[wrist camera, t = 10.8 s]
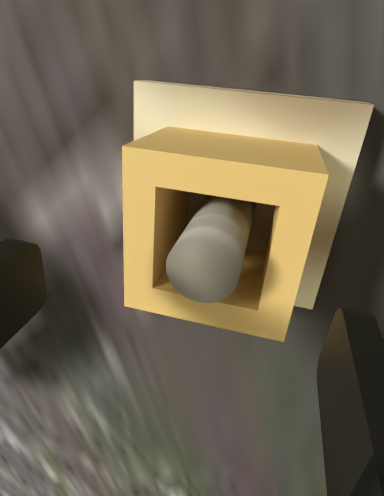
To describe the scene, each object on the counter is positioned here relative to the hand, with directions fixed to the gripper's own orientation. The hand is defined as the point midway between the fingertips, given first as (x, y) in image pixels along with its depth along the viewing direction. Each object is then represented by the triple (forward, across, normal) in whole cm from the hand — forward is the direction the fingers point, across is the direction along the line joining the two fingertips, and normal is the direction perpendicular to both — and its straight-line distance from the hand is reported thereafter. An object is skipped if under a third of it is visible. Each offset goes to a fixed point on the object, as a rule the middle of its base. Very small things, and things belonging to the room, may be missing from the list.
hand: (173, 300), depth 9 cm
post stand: (+10, 0, 0) cm, 10 cm away
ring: (+9, 0, 0) cm, 9 cm away
